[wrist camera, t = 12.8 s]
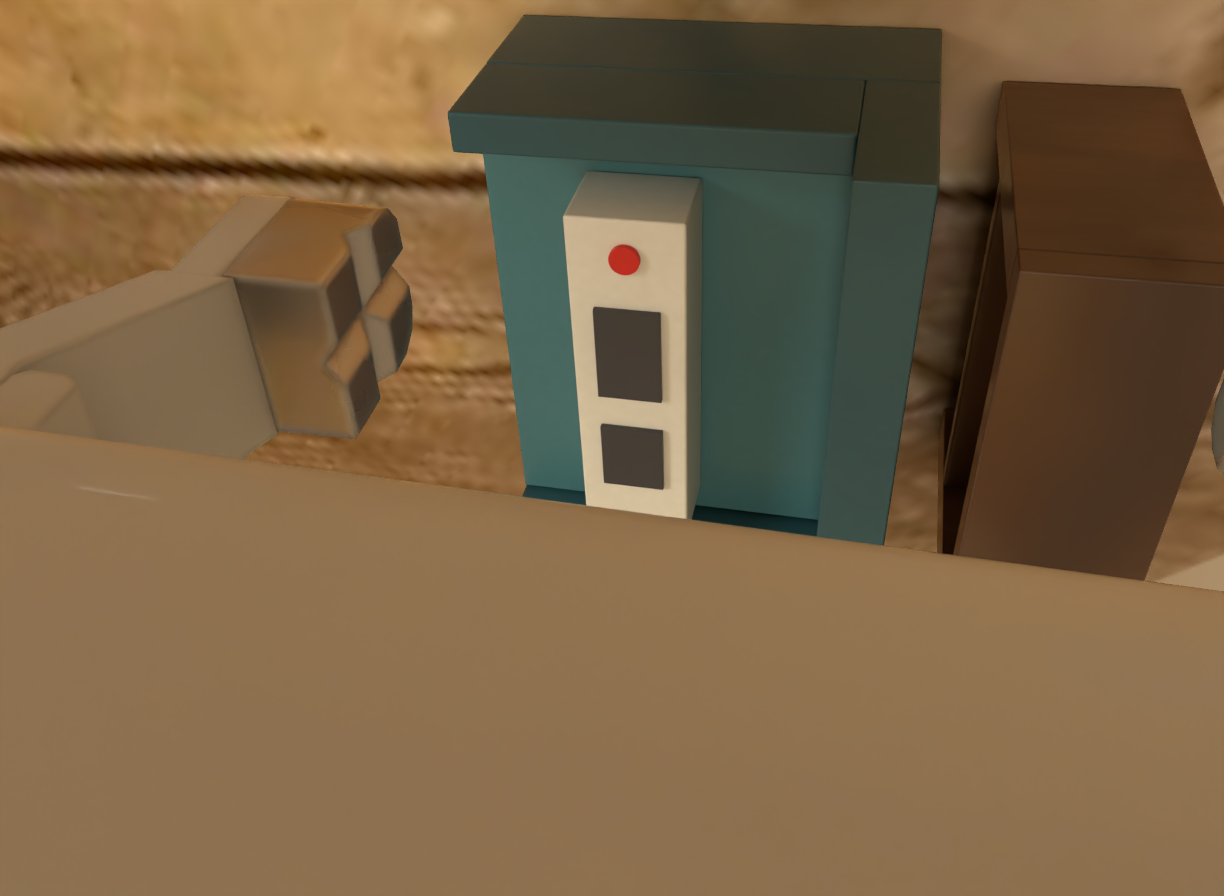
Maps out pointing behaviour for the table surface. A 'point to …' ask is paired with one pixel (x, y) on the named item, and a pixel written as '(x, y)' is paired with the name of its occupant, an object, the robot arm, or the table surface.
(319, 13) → the table surface
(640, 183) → the remote
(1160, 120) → the brown wooden box
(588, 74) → the teal armchair
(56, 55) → the table surface
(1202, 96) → the table surface
